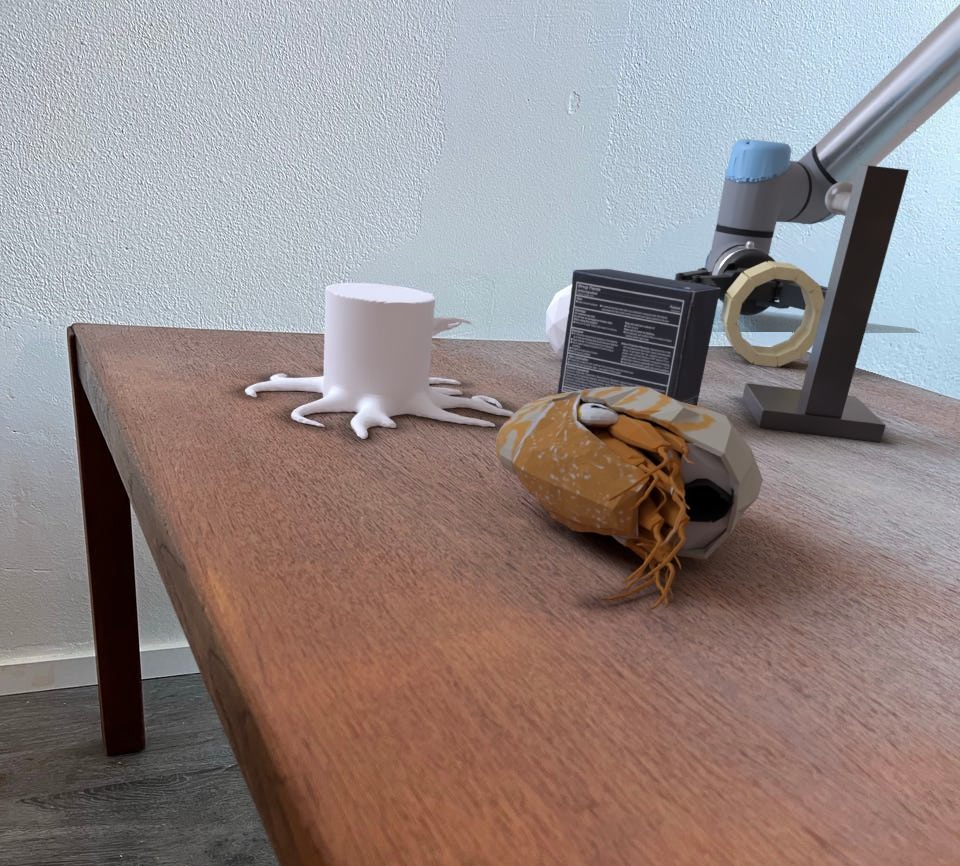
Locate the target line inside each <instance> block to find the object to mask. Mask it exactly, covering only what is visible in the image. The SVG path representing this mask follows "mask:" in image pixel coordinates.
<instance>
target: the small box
mask: <svg viewBox="0 0 960 866" xmlns="http://www.w3.org/2000/svg"><path fill="white" fill-rule="evenodd" d="M571 284H572V290H571V299H570V306H569V314H568V320H567V327H566V335H565V342H564V349H563V357H561V358H562V359H561V364H560V373H559V378H558V386H557V391H556V394H561V393H567V392H573V391H579V390H586V389H592V388H601V387H647V388H651V389H653V390H655V391H657V392H659V393H662V394H664V395H666V396H668V397H670V398H672V399H675V400H677V401H680V402H683V403H687V404H691V405H695V406H698V402H699V397H700V393H701V388H702V382H703V377H704V373H705V367H706V362H707V358H708V354H709V353H708V352H709V349H710V348H709V347H710V342H711V337H712V334H713V327H714V322H715V317H716V312H717V309H718V308H717V307H718V303H719V299H718V298H719V293H720V288H719V287H714V286H708V285H702V284H696V283H690V282H684V281H678V280H675V279H672V278H665V277H660V276H653V275H648V274H641V273H636V272H634V273H633V272H628V271H623V270H617V269H612V268H593V269H589V268H588V269H574V270H573V272H572V279H571Z"/></svg>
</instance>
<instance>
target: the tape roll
mask: <svg viewBox="0 0 960 866" xmlns="http://www.w3.org/2000/svg"><path fill="white" fill-rule="evenodd" d="M773 279H783V280H791V281H794V282H795V283H796V284H797V285H799V286H800V287H801V290H802V294H803V297H804V300H805V304H806V307H805V310H803V311H804V312H803V315H802V320H801V324H800V325H799V326H798V327H797V329H796V330H795V331H794V332H793V333H792V334H791V336H790V337H789V338H788V339H786V340H784V341H781V342H780V343H777V344H774V345H772V346H762V345H752V344H751V343H750V342H748V341H747V340H746V339H745V338H744V337H743V335H742V332H741V330H740V327H739V320H740V316H741V315H740V311H741V306H742V303H743V302H744V300H745V299H746V298H747V297H748V296H749V294H750V293H751V292H752V291H753V289H754V288H755V287H757V286H759V285H761V284H764V283H766V282H768V281H771V280H773ZM819 285H820V284H819V283H818V282H817V281H816V280H815V279H814V278H812V277H811V276H810V275H809V274H807V273H806V272H805V271H804V270H803V269H801V268H799V267H798V266H797V265H794V264H793V263H789V262H780V261H776V262H773V261H768V262H763V263H761V264H759V265H756V266H754V267H752V268H750V269H747V270H745V271H744V273H741V274H740V275H739V277H738V278H737V279H736V280H735V282H734V283H733V284H732V285H731V286H730V288H729V289H728V290H727V293H728V294H725V298H724V302H723V303H722V308H721V313H720V321H721V322H720V323H721V324H722V327H723V331H724V333H725V337H726V339H727V341H728V342H729V344H730V346H731V347H732V348H733V350H734V351H735V352H736V353H738V354H739V355H740V356H741V357H742V358H744V359H745V360H746V361H747V362H749V364H753V365H755V366H763V367H772V368H777V367H778V368H779V367H781V366H782V367H783V366H784V365H787V364H789V363H792V362H795V361H797V360H800V359H801V358H802V357H804V356H805V355H806V354H807V353H808V351H810V350H811V349H812V347H813V343H814V339H815V335H816V331H817V327H818V323H819V319H820V315H821V311H822V307H823V303H824V297H823V294H822V290H821V287H820V286H821V285H820V286H819Z"/></svg>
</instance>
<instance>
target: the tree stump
mask: <svg viewBox="0 0 960 866" xmlns="http://www.w3.org/2000/svg"><path fill="white" fill-rule="evenodd" d="M324 299H325V300H324V302H325V303H324V335H323V336H324V338H323V339H324V340H323V341H324V342H323V343H324V344H323V375H322V376H313V377H311V376H309V377H288V375H287V374H286V373H276V374H273V375H271V376H270V377H269V380H267V381H261V382H256V383H253V384H251V385H249V386H248V387H247V388H245V390H244V393H245V394H246V395H247V396H249V397H252V398H257V397H258V394H257V393H259V392H277V391H278V392H279V391H281V392H284V391H285V392H287V391H289V392H292V391H293V392H294V391H298V392H311V393H317V394H322V398H320V399H317V400H314V401H311V402H307V403H305V404H303V405H300V406H298V407H296V408H295V409H294V410H293V411H292V412H291V414H290V416H291V419H292V420H293V421H296V422H297V423H302V424H306V425H311V426H316V427H319V428H326V427H325V424H323V423H320V422H318V421H316V420H311V419H309V418H306V417H304V416H309V415H310V414H317V413H342V412H347V413H356V414H355V415H354V416H353V418H352V419H351V420H350V426H351V429H353V431H354V433H355V434H356V436H357V437H359V438H361V439H362V440H366V439H367V438H368V437H369V432H368V429H369V428H372V427H383V428H390V429H393V428H394V429H395V428H397V424H396V422H395V421H394V420H393V419H391V417H394V416H400V415H410V416H417V417H423V418H429V419H431V420H438V421H440V422H449V423H456V424H465V425H471V426H479V427H485V428H486V427H496V425H495V423H494V422H491V421H488V420H484V419H479V418H474V417H470V416H469V417H468V416H463V415H459V414H457V413H453V412H449V411H446V410H444V409H454V408H468V409H472V410H476V411H480V412H484V413H488V414H491V415H497V416H504V417H509V418H510V417H511V416H512V415H513V414H514V413H515V412H513V411H510V410H509V409H505V408H503V406H502V404H501V403H500V402H499V401H498V400H497V399H496V398H493V397H490V396H487V395H482V394H481V395H473V396H472V397H471V398H469V397H460V396H457V395H463V392H462V391H461V390H459V389H455V388H445V387H436V386H430V385H434V384H436V385H439V384H450V385H451V384H452V385H459V386H460V385H462V383H461V382H460V381H458V380H456V379H451V378H441V377H430V374H431V362H432V350H434V349H435V350H437V348H436V345H435V344H434V343H433V337H435V336H437V335H439V334H440V333H442V332H445V331H446V332H447V331H450V330H452V329H455V328H457V327H459V326H460V325H462V323H464V324H465V323H466V324H470V325H472V323H471V321H469V320H465V317H462V318H457V317H447V316H437V317H435V307H436V296H435V295H434V294H432V293H431V292H428V291H427V292H425V291H422V290H419V289H416V288H411V287H406V286H404V287H403V286H399V285H390V284H381V283H369V282H340V283H331V284H329V285H328V286H327V285H326V286H325V298H324ZM432 348H433V349H432ZM490 403H492V404H490ZM495 405H496V406H495Z"/></svg>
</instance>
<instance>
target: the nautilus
mask: <svg viewBox="0 0 960 866" xmlns="http://www.w3.org/2000/svg"><path fill="white" fill-rule="evenodd" d="M513 413H514V414H513V415H512V416H511V417H510V416H509V418H508V419H507V420H506V421H505V422H504V423H503V424H502V426H501V427H500V428H499V431H498V432H497V434H496V437H495V449H494V451H495V453H496V456H497V458H498V461H499V462H500V464H501V466H502V467H503V469H505V470H507V471H508V472H510V473H511V474H512V475H515V476H516V477H517V479H518V481H519V482H520V483H521V485H522V486H523V487H524V488H525V489H526V490H527V491H528V492H529V493H530V494H531V496H532V497H533V498H535V499H536V500H537V502H538V503H540V505H542V506H543V507H544V508H545V509H546V510H547V512H548V515H549V517H550V519H552V520H554V521H555V522H558V523H560V524H562V525H564V526H566V527H567V528H568V529H569V530H571V531H572V532H579V533H595V534H598V535H599V534H600V535H603V536H611V537H612V538H613V539H615V540H616V541H617V542H618V543H620V544H621V545H622V546H623V547H625V548H626V547H627V548H629V549H630V550H631V551H632V552H634V553H635V554H636V555H637V556H639V557H640V558H641V559H642V560H644V562H643V564H642V565H640V567H638V568H637V569H636V570H635V571H634V572H632V574H630V575H629V576H628V577H627V578H626V579H624V580H622V581H621V583H622V584H625V583H628V582H630V581H631V582H630V583H629V584H628V585H627V586H626V587H624V588H622V589H620V592H623V593H621V594H618V595H614V596H611V597H608V598H605V597H604V598H603V597H601V598H600V601H605V602H609V601H614V600H617V599H623V598H626V597H629V596H632V595H634V594H636V593H638V592H640V591H642V590H643V589H646V588H647V587H649V586H651V585H653V584H655V586H656V588H657V589H659V590H660V592H661V596H660V597H659V598H658V600H657V601H656V603H655V604H654V605H652V606H651V607H650V608H648V611H653V610H656V608H657V607H659V606H660V604H662V602H663V601H664V603H665V608H666V609H668V608H669V607H668V606H669V600H668V596H667V595H668V593H670V597H671V600H672V601H673V600H674V593H673V590H672V587H671V585H672V583H673V580H674V578H675V575H676V570H675V566H674V564H673V563H671V561H673V559H675V561H676V563H677V565H678V566H679V569H680V570H681V569H682V565H681V562H680V560H679V558H678V557H683V558H684V557H685V558H691V559H692V558H693V559H697V560H698V559H699V560H704V561H706V560H707V559H708V558H709V557H710V556H711V555H712V554H713V553H714V551H716V550H717V549H718V548H719V547H720V546H721V545H722V543H724V542H725V541H726V540H727V539H728V538H729V536H731V535H732V533H733V531H734V529H735V527H736V526H737V524H738V523H739V521H740V518H741V517H742V515H743V514H744V513H745V512H746V511H747V510H748V509H749V508H750V507H751V506H752V505H753V504H754V503H755V502H756V501H757V500H758V499H759V495H760V492H761V488H762V484H763V481H764V479H763V476H762V473H761V470H760V468H759V466H758V463H757V460H756V458H755V455H754V452H753V450H752V447H750V445H749V444H748V442H747V441H746V440H745V439H744V437H743V436H742V434H741V433H739V431H738V430H737V428H736V427H735V426H734V424H733V423H732V422H731V420H730V419H729V418H728V417H727V415H725V414H723V413H720V412H717V411H715V410H711V409H709V408H706V407H702V406H699V405H697V406H695V405H691V404H687V403H683V402H680V401H677V400H675V399H672V398H670V397H668V396H666V395H664V394H662V393H659V392H657V391H655V390H653V389H651V388H647V387H601V388H592V389H586V390H579V391H573V392H567V393H561V394H557V393H556V394H550V395H546V396H543V397H541V398H538V399H535V400H532V401H529V402H527V403H526V404H524V405H523V406H522V407H520V408H519V409H518V410H517V411H515V412H513ZM677 556H678V557H677ZM648 565H649V569H650V571H649V572H648V573H647V574H645V575H643V573H644V572H645V570H646V569H647V567H648ZM656 565H657V566H656ZM664 567H665V568H666V571H665V573H664V584H665V587H663V586H662V585H661V582H660V581H661V580H660V575H661V574H660V572H661V571H660V570H661V569H663V568H664ZM669 571H670V573H669ZM668 574H669V576H668ZM642 575H643V576H642ZM651 576H653V577H652V578H651V579H649V578H650V577H651ZM639 579H640V580H647V579H649V580H648V581H646V582H644V583H642V584H640V585H639V586H637V587H635V588H632V589H631V590H629V589H630V588H631V587H633V585H635V584H636V583H637V582H638V581H639ZM627 590H629V591H627ZM624 591H627V592H624Z"/></svg>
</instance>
